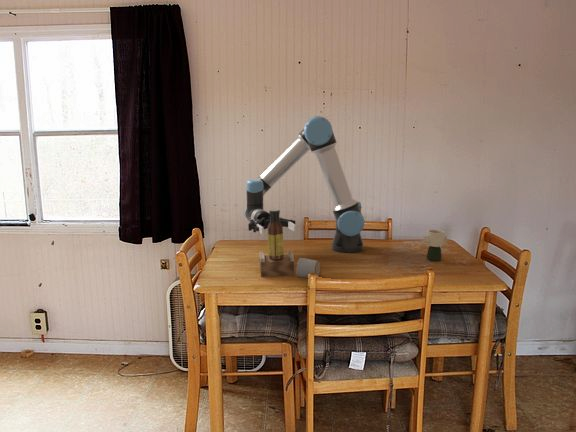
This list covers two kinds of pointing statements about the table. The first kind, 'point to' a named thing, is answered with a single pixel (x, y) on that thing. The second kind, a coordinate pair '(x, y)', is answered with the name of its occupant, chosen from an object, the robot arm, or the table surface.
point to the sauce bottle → (275, 236)
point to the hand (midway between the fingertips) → (279, 229)
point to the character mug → (435, 243)
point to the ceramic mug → (307, 267)
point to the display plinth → (277, 265)
